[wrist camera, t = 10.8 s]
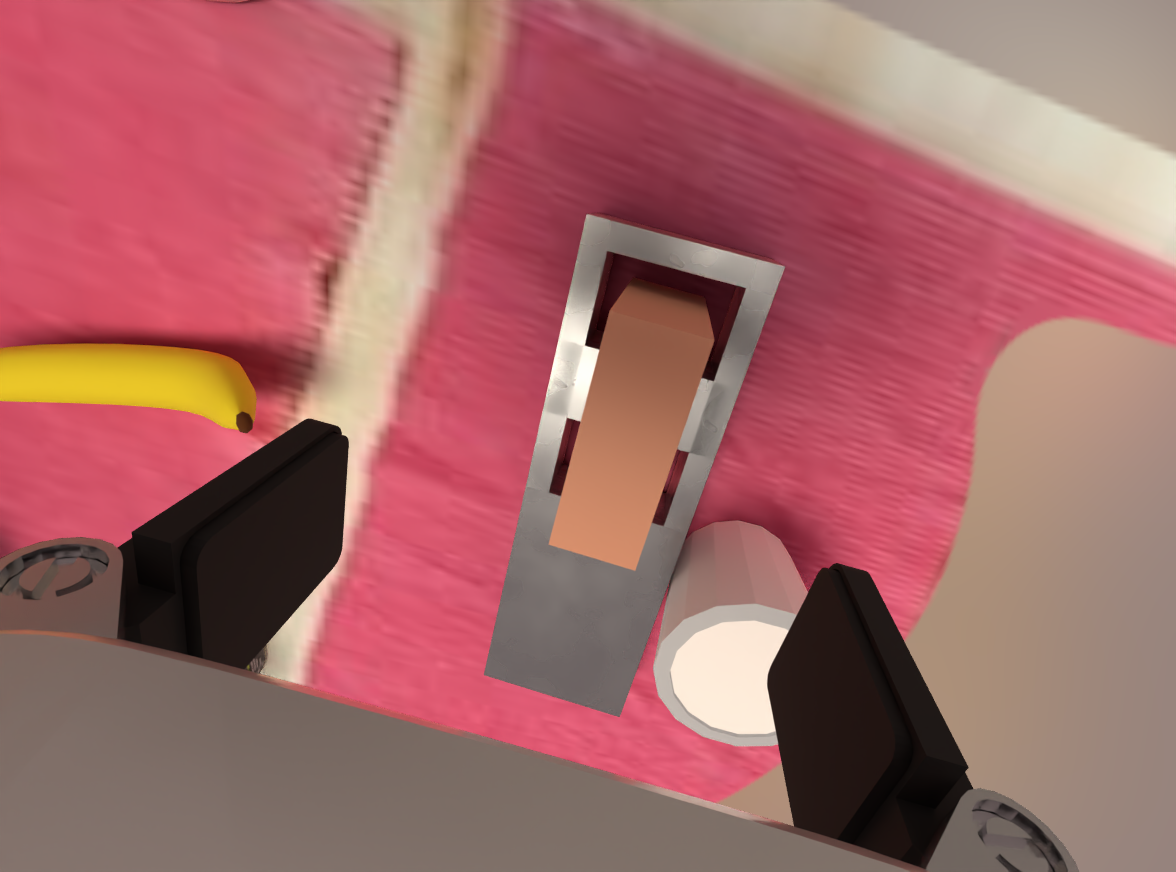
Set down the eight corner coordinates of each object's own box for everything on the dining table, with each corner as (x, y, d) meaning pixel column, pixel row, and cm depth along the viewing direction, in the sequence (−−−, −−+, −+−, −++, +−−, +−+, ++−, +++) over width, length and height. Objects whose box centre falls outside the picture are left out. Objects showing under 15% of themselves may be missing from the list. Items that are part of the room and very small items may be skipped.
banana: (-14, 325, 29) (-188, 356, 23) (335, 347, 27) (237, 386, 21) (7, 381, 30) (-155, 423, 24) (344, 406, 28) (253, 460, 22)
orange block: (633, 277, 23) (609, 310, 16) (704, 297, 23) (714, 340, 16) (586, 450, 26) (548, 544, 19) (648, 468, 26) (635, 570, 19)
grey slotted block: (598, 212, 23) (586, 213, 20) (772, 259, 22) (785, 266, 19) (501, 633, 31) (483, 674, 29) (625, 671, 31) (619, 717, 28)
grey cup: (656, 621, 29) (649, 737, 23) (663, 502, 27) (657, 596, 20) (796, 636, 28) (828, 761, 22) (817, 514, 26) (861, 616, 19)
